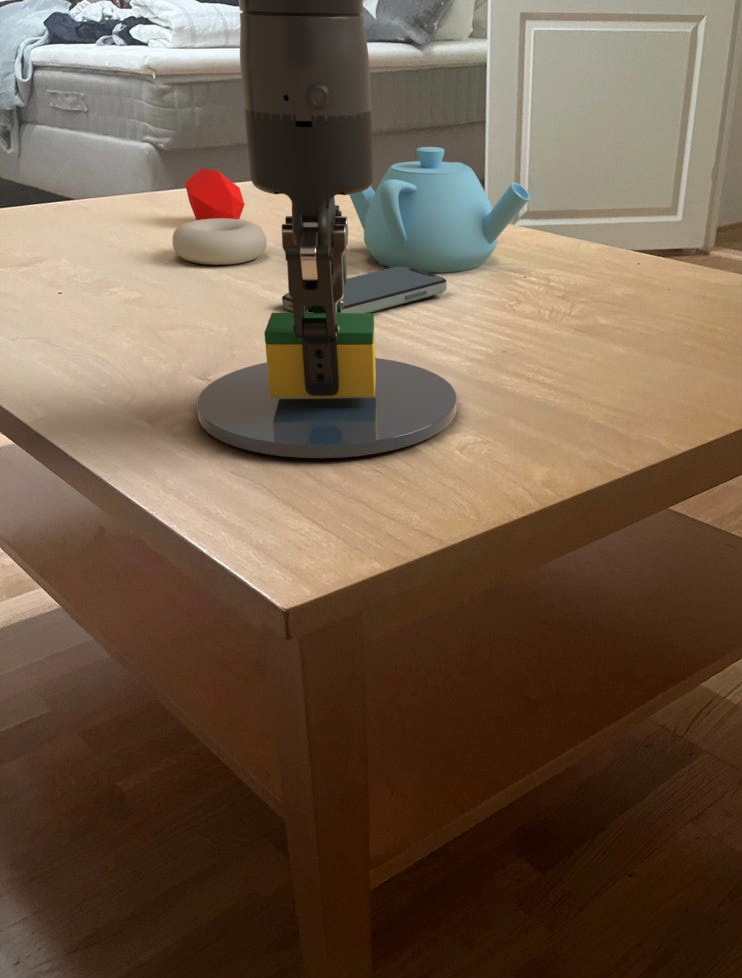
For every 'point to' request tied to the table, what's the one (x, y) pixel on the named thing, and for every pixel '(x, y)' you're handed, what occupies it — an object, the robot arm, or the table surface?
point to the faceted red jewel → (214, 196)
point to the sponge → (351, 351)
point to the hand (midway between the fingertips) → (324, 379)
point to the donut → (219, 241)
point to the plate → (327, 414)
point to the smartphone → (385, 289)
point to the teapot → (434, 215)
